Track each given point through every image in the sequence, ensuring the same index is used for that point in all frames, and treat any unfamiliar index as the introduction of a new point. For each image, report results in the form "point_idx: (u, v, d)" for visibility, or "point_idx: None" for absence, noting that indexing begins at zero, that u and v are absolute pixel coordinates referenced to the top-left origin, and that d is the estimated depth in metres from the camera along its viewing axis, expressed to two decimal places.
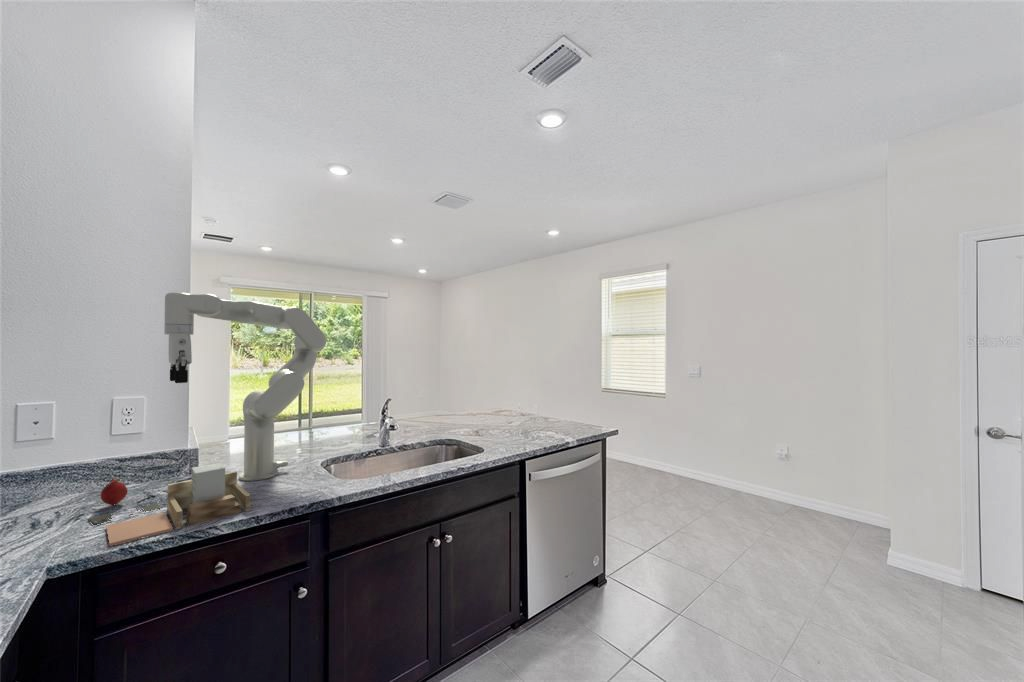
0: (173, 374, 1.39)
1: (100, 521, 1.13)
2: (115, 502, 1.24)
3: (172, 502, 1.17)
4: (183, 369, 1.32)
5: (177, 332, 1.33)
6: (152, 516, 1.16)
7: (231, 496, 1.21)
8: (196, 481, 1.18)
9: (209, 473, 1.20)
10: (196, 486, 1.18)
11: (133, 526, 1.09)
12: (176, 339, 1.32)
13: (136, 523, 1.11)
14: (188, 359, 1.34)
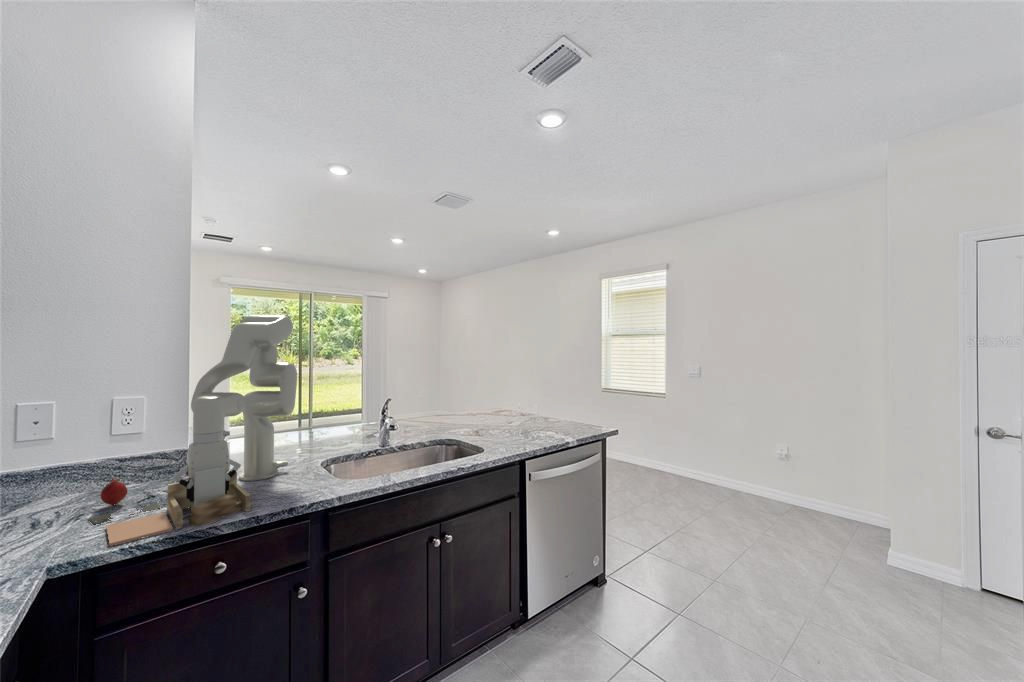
0: None
1: (100, 521, 1.13)
2: (115, 502, 1.24)
3: (172, 502, 1.17)
4: None
5: (224, 438, 1.25)
6: (152, 516, 1.16)
7: (231, 495, 1.22)
8: (196, 481, 1.18)
9: (209, 473, 1.20)
10: (196, 486, 1.18)
11: (133, 526, 1.09)
12: (227, 446, 1.25)
13: (136, 523, 1.11)
14: None
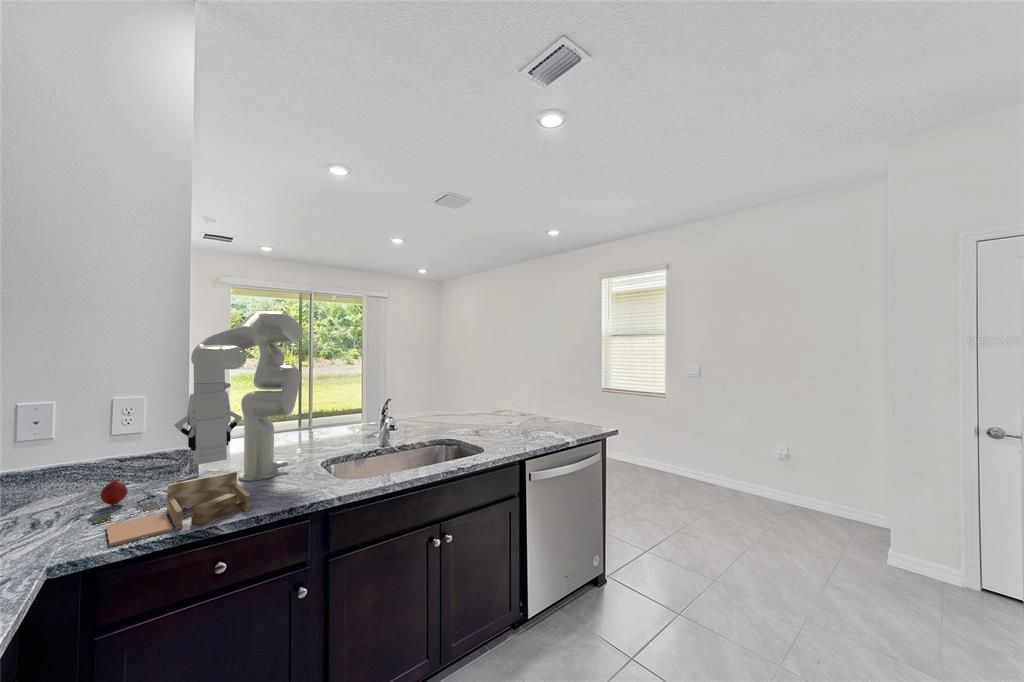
0: None
1: (100, 521, 1.13)
2: (115, 502, 1.24)
3: (172, 502, 1.17)
4: None
5: (224, 390, 1.25)
6: (152, 516, 1.16)
7: (231, 494, 1.22)
8: (197, 430, 1.18)
9: (210, 422, 1.21)
10: (198, 435, 1.18)
11: (133, 526, 1.09)
12: (228, 397, 1.25)
13: (136, 523, 1.11)
14: None
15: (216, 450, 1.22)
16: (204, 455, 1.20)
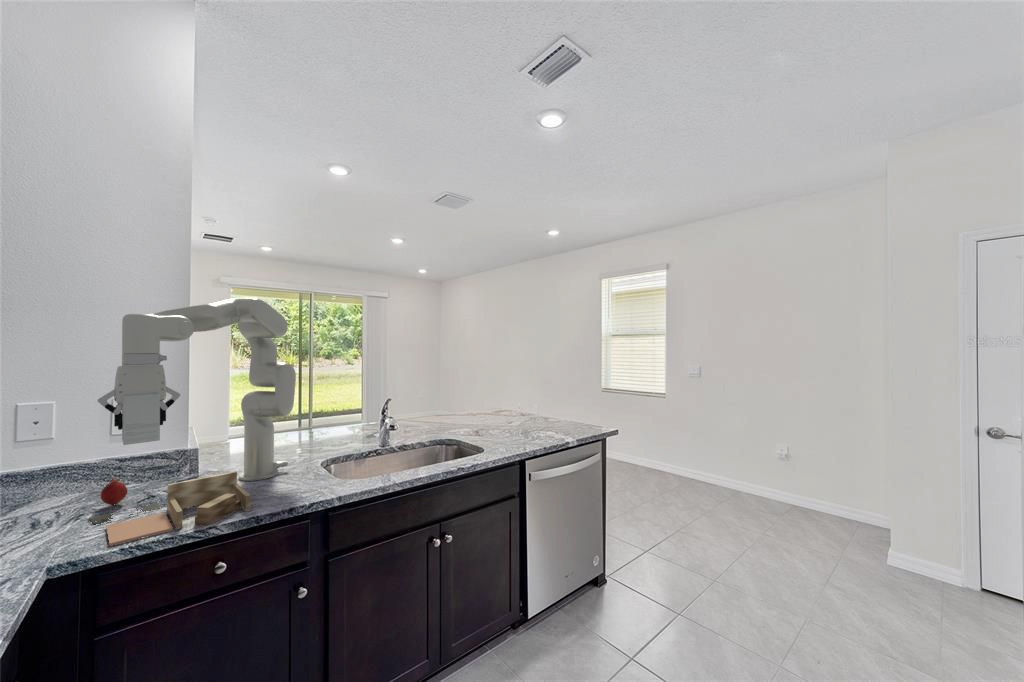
0: (122, 420, 1.06)
1: (100, 521, 1.13)
2: (115, 502, 1.24)
3: (172, 502, 1.17)
4: None
5: (159, 363, 1.12)
6: (152, 516, 1.16)
7: (231, 494, 1.22)
8: (124, 405, 1.05)
9: (140, 398, 1.07)
10: (124, 411, 1.05)
11: (133, 526, 1.09)
12: (163, 371, 1.12)
13: (136, 523, 1.11)
14: None
15: (147, 429, 1.08)
16: (132, 434, 1.06)
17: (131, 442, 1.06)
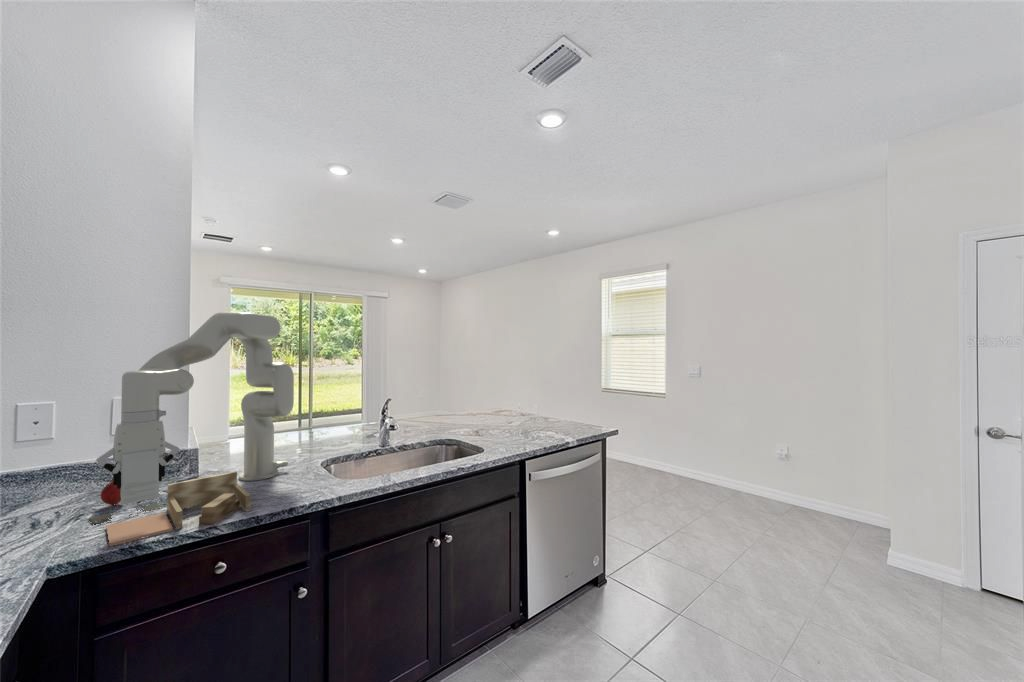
0: None
1: (100, 521, 1.13)
2: (115, 502, 1.24)
3: (172, 502, 1.17)
4: None
5: (158, 418, 1.11)
6: (152, 516, 1.16)
7: (230, 494, 1.23)
8: (123, 465, 1.05)
9: (139, 456, 1.07)
10: (123, 470, 1.05)
11: (133, 526, 1.09)
12: (163, 427, 1.12)
13: (136, 523, 1.11)
14: None
15: (145, 487, 1.07)
16: (130, 493, 1.05)
17: (130, 501, 1.05)
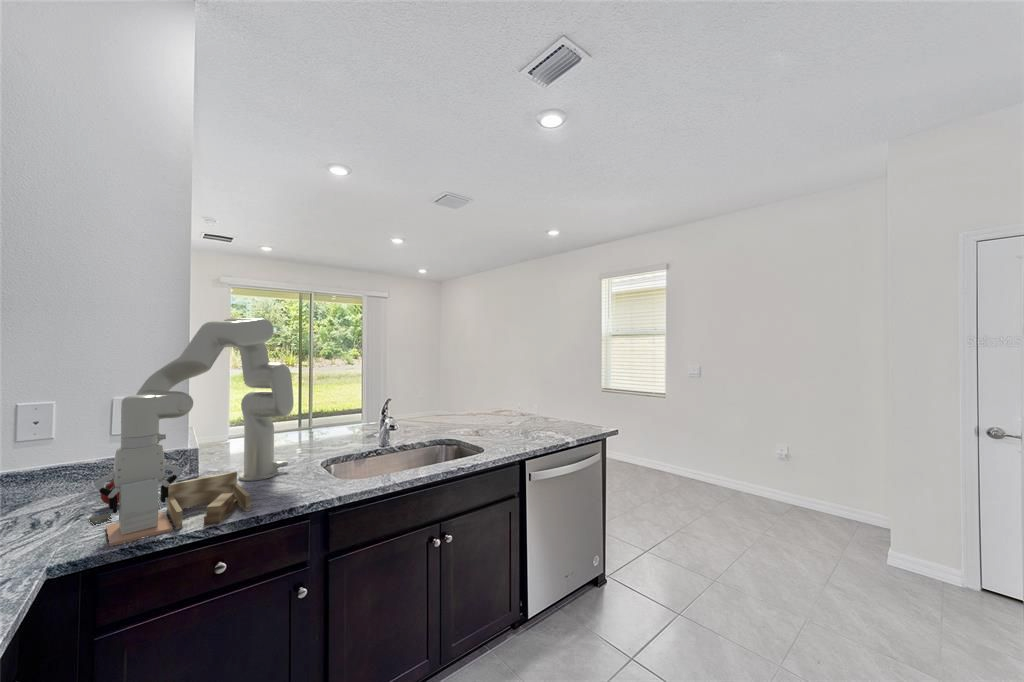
0: None
1: (101, 521, 1.13)
2: None
3: (172, 502, 1.17)
4: None
5: (158, 443, 1.11)
6: None
7: (228, 493, 1.23)
8: (122, 495, 1.04)
9: (138, 486, 1.07)
10: (122, 501, 1.04)
11: None
12: (162, 451, 1.12)
13: None
14: None
15: (145, 516, 1.08)
16: (130, 523, 1.05)
17: (129, 531, 1.05)
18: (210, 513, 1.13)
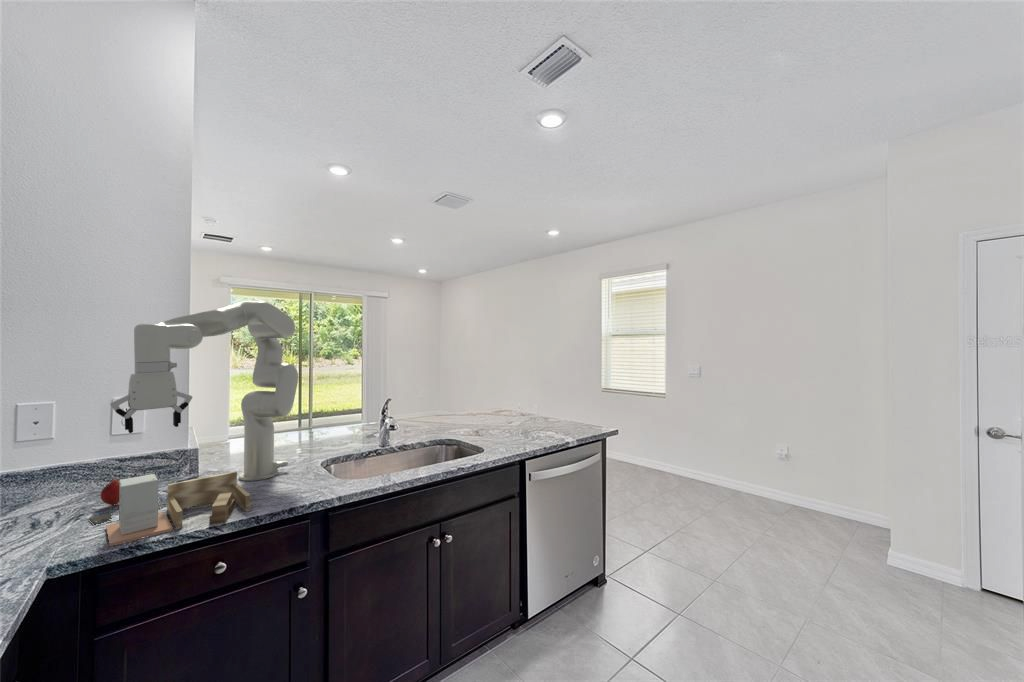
0: (132, 424, 1.11)
1: (101, 521, 1.13)
2: (115, 502, 1.24)
3: (172, 502, 1.17)
4: None
5: None
6: None
7: (226, 493, 1.23)
8: (122, 495, 1.04)
9: (138, 486, 1.07)
10: (122, 501, 1.04)
11: None
12: (174, 378, 1.17)
13: None
14: None
15: (145, 516, 1.08)
16: (130, 523, 1.05)
17: (129, 531, 1.05)
18: (216, 512, 1.14)
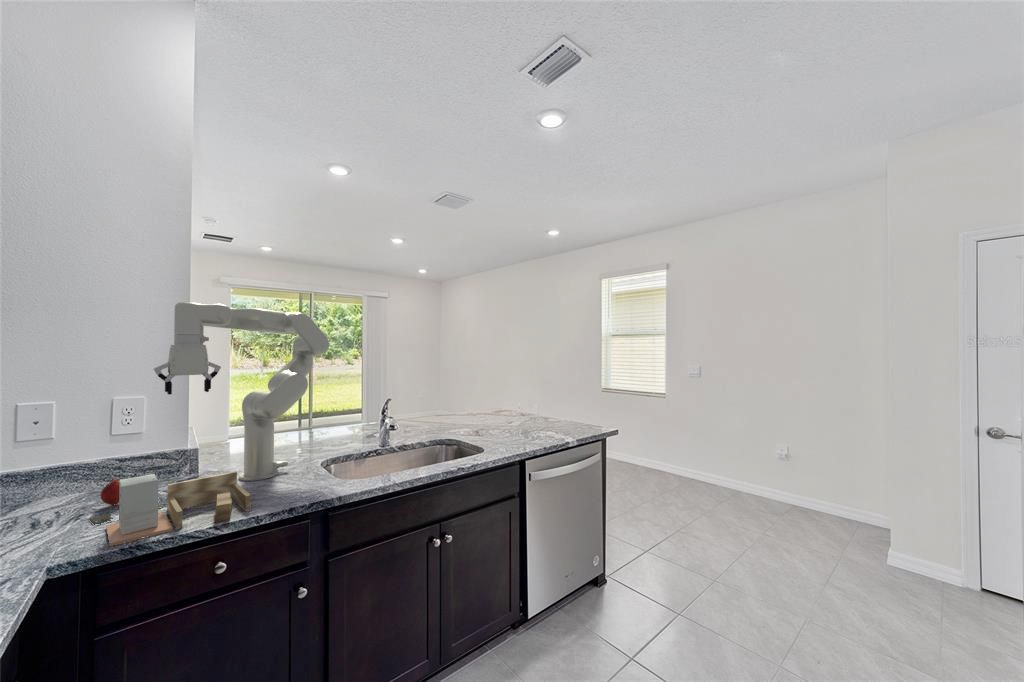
0: (171, 387, 1.31)
1: (101, 521, 1.13)
2: (115, 502, 1.24)
3: (172, 502, 1.17)
4: None
5: None
6: None
7: (225, 493, 1.23)
8: (122, 495, 1.04)
9: (138, 486, 1.07)
10: (122, 501, 1.04)
11: None
12: (206, 349, 1.37)
13: None
14: None
15: (145, 516, 1.08)
16: (130, 523, 1.05)
17: (129, 531, 1.05)
18: (220, 511, 1.14)
